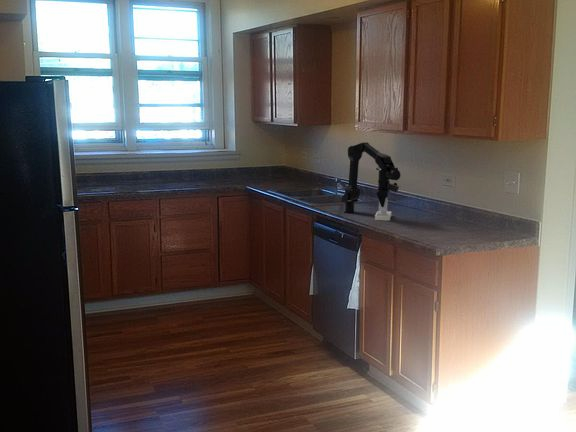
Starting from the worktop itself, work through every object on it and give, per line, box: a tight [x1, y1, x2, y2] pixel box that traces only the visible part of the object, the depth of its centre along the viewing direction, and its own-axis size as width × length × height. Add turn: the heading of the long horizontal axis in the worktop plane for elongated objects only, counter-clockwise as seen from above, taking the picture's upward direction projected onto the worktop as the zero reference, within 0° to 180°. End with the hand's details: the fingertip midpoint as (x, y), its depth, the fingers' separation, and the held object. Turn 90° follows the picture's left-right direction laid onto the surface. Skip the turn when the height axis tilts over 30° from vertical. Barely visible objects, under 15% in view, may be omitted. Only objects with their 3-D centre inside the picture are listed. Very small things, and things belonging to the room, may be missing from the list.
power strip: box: [374, 210, 392, 221], centre depth 365 cm, size 16×8×3 cm, turn 168°
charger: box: [378, 197, 388, 212], centre depth 360 cm, size 4×4×7 cm
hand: (382, 206), depth 361 cm, fingers closed on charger, 4 cm apart
